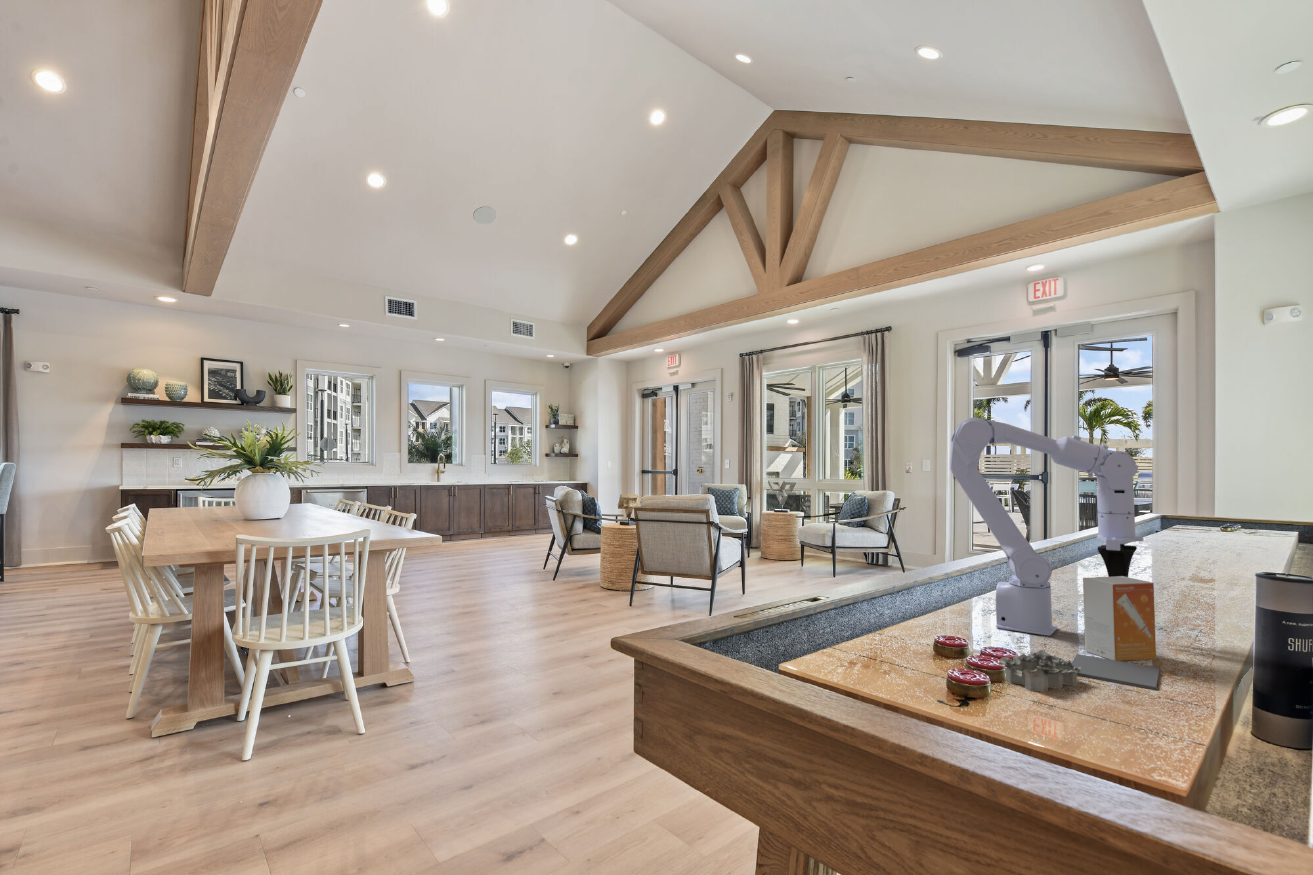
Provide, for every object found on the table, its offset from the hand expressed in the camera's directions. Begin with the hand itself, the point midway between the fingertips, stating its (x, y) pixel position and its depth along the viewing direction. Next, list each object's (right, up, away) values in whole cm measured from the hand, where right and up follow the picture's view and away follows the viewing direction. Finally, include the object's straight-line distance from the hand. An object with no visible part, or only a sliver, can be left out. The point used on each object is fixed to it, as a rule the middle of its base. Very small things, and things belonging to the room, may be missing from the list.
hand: (1118, 584), depth 117 cm
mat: (-16, -9, -20) cm, 27 cm away
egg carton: (-30, -10, -23) cm, 39 cm away
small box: (-9, -10, -12) cm, 17 cm away
